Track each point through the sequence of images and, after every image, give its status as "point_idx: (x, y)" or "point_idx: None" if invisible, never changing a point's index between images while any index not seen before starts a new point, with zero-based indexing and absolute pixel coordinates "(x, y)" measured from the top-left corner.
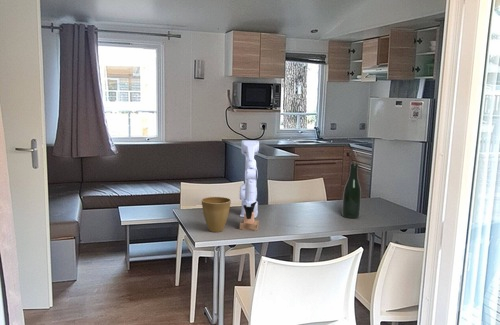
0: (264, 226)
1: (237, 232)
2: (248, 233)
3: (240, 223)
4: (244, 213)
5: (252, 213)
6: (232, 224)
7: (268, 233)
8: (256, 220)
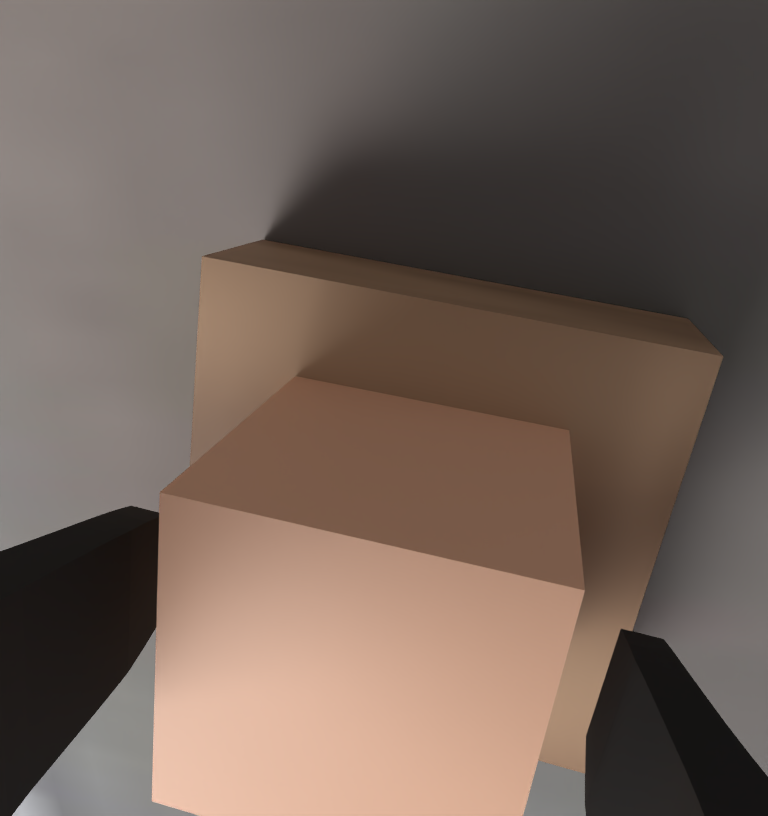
0: (536, 767)
1: (54, 184)
2: (45, 412)
3: (248, 277)
4: (217, 511)
5: (273, 792)
6: (732, 30)
7: (122, 734)
8: (576, 721)
